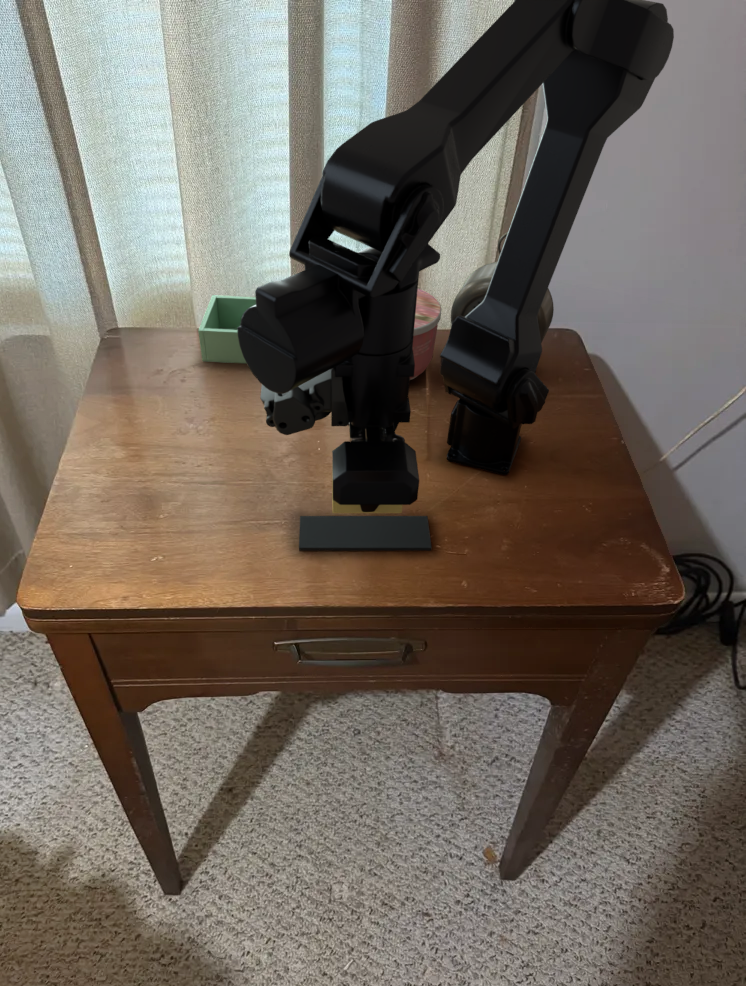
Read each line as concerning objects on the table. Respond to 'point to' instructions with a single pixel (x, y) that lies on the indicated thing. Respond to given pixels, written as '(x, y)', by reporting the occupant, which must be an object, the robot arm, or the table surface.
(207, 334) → the storage box
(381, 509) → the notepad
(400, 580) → the table surface
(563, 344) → the table surface
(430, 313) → the container
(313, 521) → the desk mat
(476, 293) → the alarm clock
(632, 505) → the table surface
